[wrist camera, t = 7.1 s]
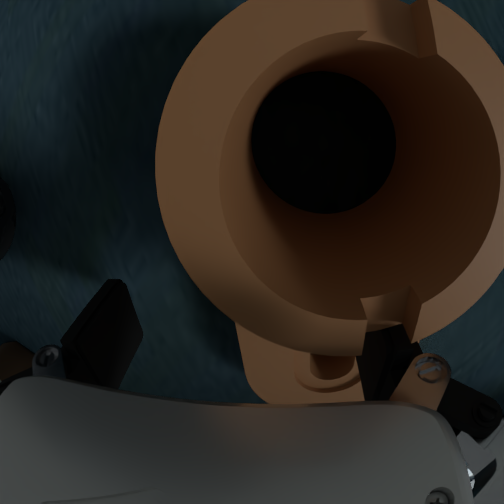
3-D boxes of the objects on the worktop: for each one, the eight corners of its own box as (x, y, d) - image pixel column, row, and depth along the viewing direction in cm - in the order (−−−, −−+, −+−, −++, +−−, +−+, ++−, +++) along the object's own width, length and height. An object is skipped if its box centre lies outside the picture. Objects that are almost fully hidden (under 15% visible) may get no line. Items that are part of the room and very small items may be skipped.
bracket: (209, 54, 10) (129, 6, 4) (413, 50, 9) (524, 25, 3) (258, 381, 18) (248, 480, 12) (385, 371, 17) (408, 464, 11)
